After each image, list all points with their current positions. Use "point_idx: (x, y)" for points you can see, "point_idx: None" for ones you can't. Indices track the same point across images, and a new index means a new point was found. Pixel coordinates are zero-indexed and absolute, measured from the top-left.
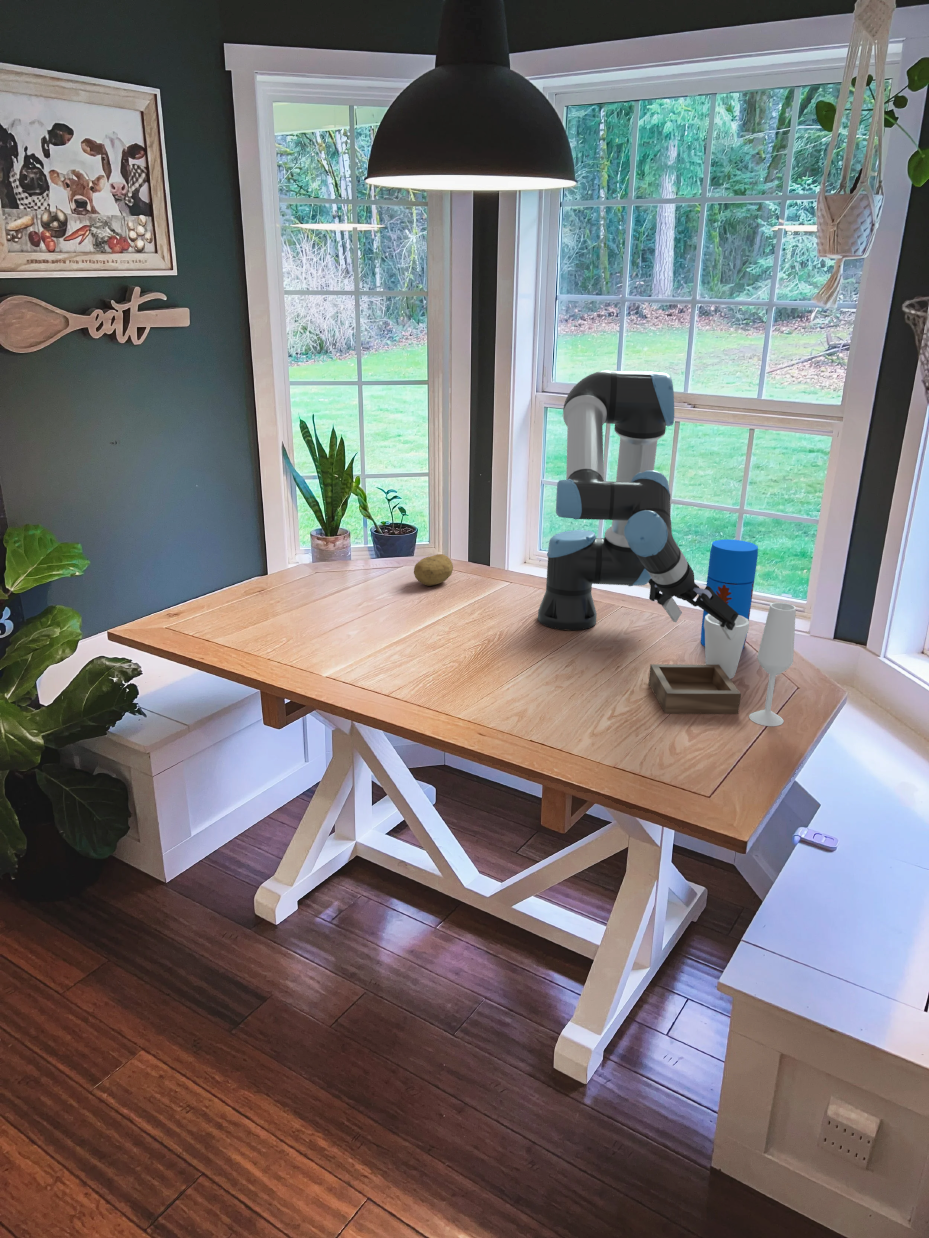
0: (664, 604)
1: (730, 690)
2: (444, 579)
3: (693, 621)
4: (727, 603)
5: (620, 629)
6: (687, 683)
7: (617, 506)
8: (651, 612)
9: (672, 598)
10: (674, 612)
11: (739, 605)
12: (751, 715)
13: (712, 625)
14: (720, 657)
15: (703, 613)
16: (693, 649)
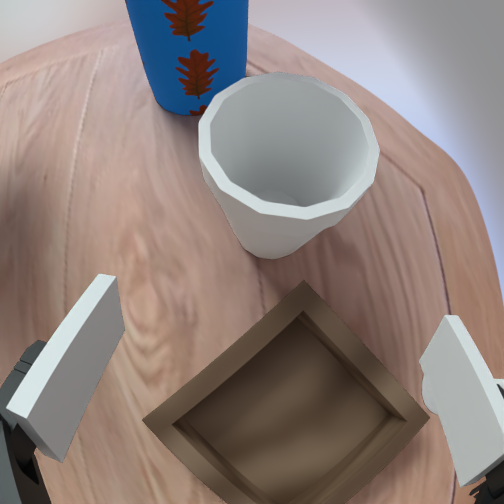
0: (41, 448)
1: (403, 417)
2: None
3: (117, 45)
4: (204, 18)
5: (8, 159)
6: (248, 370)
7: None
8: (47, 66)
9: (36, 404)
10: (96, 355)
11: (234, 11)
12: (429, 399)
13: (268, 218)
14: (294, 246)
15: (141, 53)
16: (155, 138)
